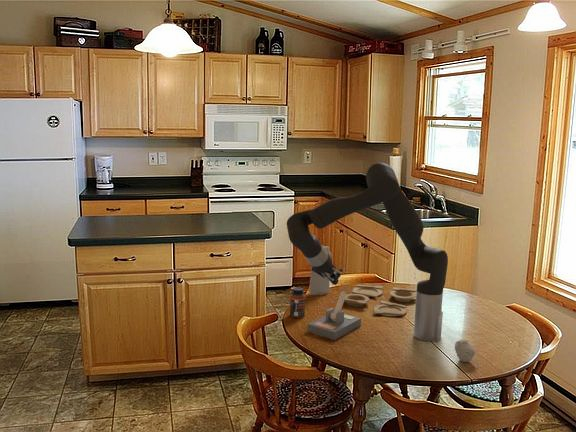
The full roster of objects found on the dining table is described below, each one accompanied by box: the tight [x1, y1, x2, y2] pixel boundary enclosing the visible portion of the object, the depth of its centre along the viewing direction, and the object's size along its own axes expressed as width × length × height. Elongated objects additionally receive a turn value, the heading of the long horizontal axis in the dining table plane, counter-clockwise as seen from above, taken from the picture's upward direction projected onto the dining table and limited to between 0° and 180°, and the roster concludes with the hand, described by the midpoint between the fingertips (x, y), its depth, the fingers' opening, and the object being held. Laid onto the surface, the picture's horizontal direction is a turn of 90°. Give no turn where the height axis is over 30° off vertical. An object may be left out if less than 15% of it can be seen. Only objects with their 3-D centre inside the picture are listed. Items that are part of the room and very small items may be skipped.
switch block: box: [306, 307, 362, 341], centre depth 208 cm, size 12×18×7 cm, turn 142°
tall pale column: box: [309, 245, 332, 296], centre depth 246 cm, size 11×4×22 cm, turn 112°
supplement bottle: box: [289, 286, 306, 319], centre depth 220 cm, size 6×6×11 cm
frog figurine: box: [454, 339, 476, 363], centre depth 183 cm, size 6×7×7 cm
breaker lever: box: [330, 283, 353, 321], centre depth 209 cm, size 4×2×14 cm
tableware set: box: [337, 284, 417, 317], centre depth 240 cm, size 35×29×4 cm
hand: (335, 282), depth 205 cm, fingers closed
